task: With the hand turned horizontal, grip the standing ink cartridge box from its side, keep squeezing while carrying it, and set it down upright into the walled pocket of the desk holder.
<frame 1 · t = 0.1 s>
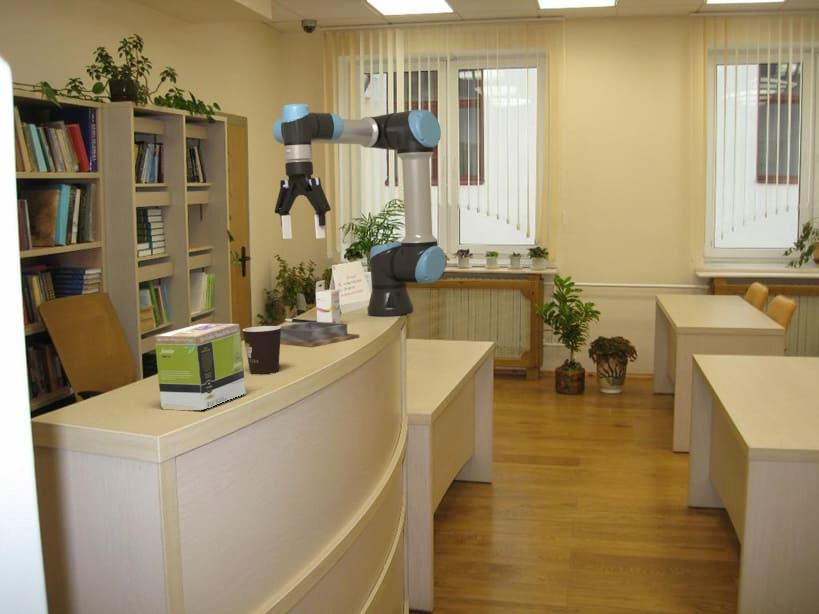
hand: (303, 238, 259), 28 cm above the table, tool pointing down, fingers open, 13 cm apart
ink cartridge box: (329, 330, 276), on the table
tea box: (204, 403, 182), on the table
cartridge holder: (310, 339, 258), on the table
coffee mug: (264, 371, 213), on the table
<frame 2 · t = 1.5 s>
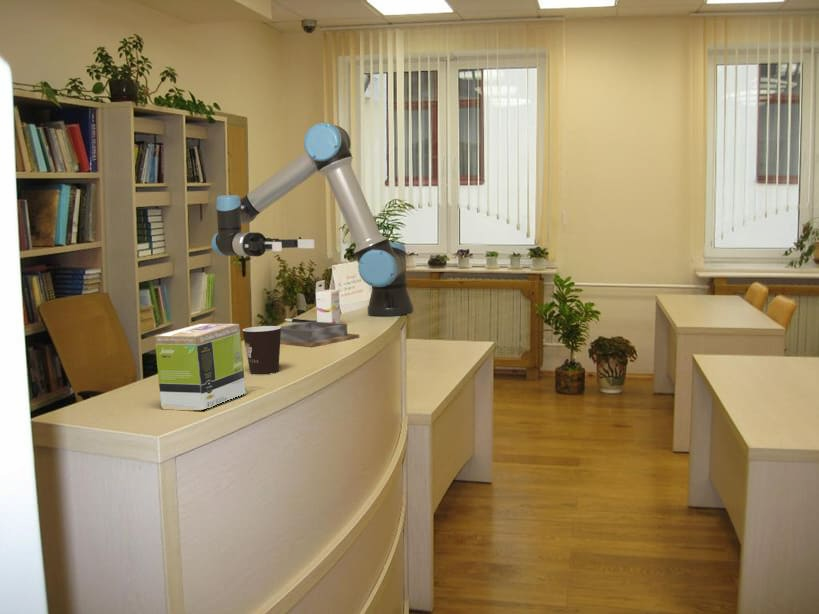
hand: (297, 245, 280), 25 cm above the table, tool horizontal, fingers open, 13 cm apart
nothing on the table moved.
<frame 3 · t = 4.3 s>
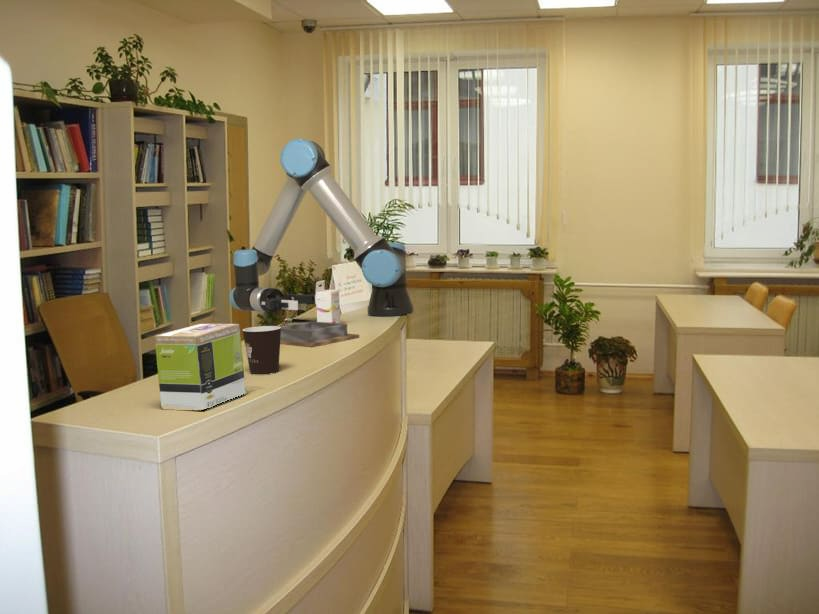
hand: (314, 302, 278), 8 cm above the table, tool horizontal, fingers open, 13 cm apart
nothing on the table moved.
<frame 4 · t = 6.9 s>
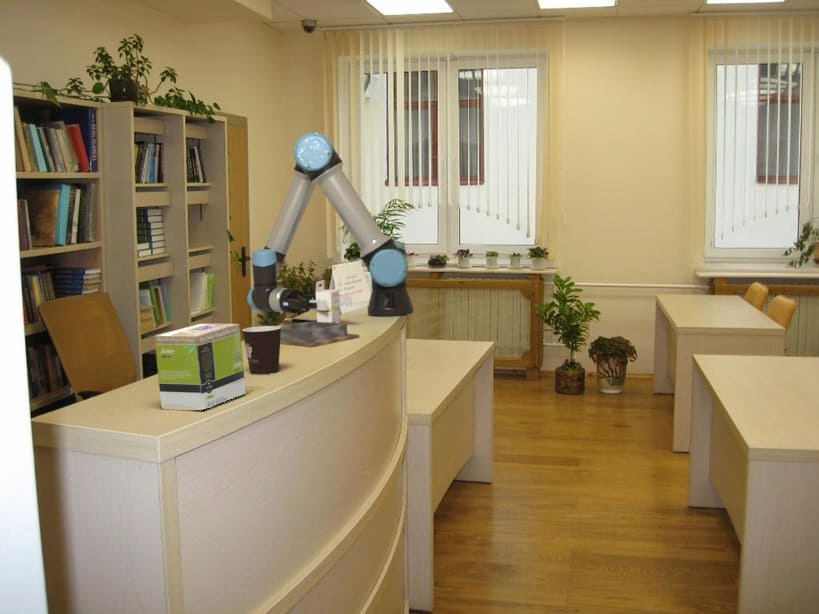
hand: (338, 303, 272), 8 cm above the table, tool horizontal, fingers closed on ink cartridge box, 9 cm apart
ink cartridge box: (329, 330, 276), on the table, touching gripper
everything else where it was.
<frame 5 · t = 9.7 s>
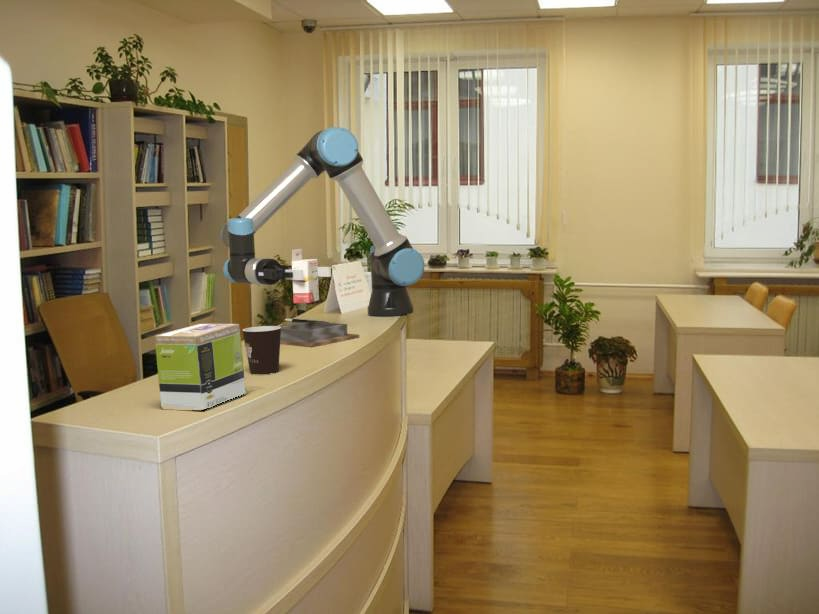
hand: (316, 273, 255), 18 cm above the table, tool horizontal, fingers closed on ink cartridge box, 9 cm apart
ink cartridge box: (306, 302, 259), point 10 cm above the table, touching gripper
everything else where it was.
when the fingers open (10 cm above the table, at t = 12.7 s): ink cartridge box drops 2 cm, resting on cartridge holder.
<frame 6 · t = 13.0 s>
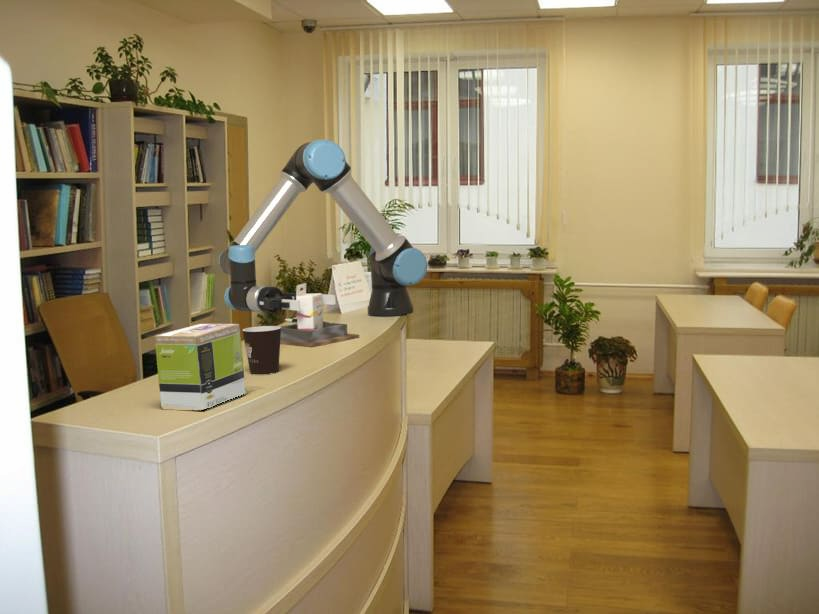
hand: (317, 302, 254), 10 cm above the table, tool horizontal, fingers open, 13 cm apart
ink cartridge box: (311, 337, 258), point 1 cm above the table, touching cartridge holder
everything else where it was.
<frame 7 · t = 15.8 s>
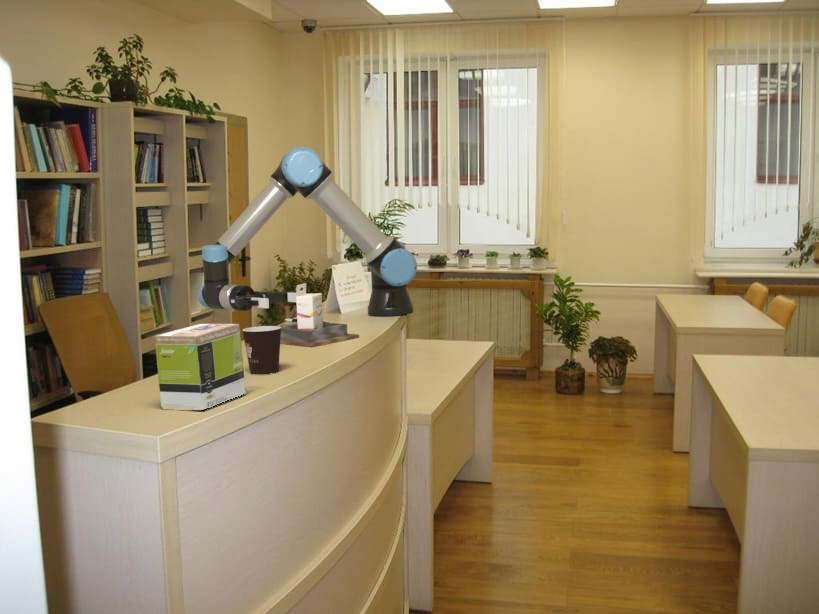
hand: (286, 300, 262), 11 cm above the table, tool horizontal, fingers open, 13 cm apart
nothing on the table moved.
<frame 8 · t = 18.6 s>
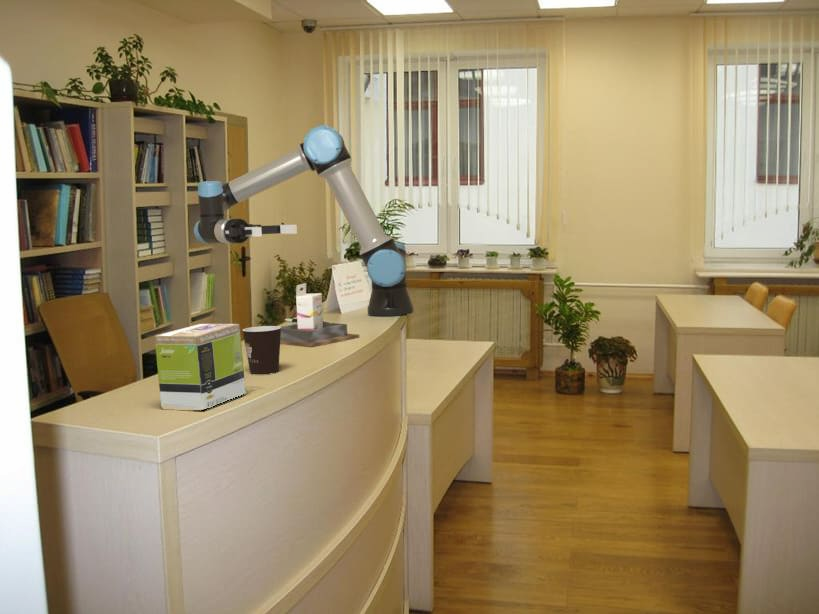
hand: (278, 230, 272), 30 cm above the table, tool horizontal, fingers open, 13 cm apart
nothing on the table moved.
at the end: ink cartridge box 0.3 cm off-centre on the cartridge holder, point 0.6 cm above the cartridge holder's base; ink cartridge box tilted 0°; the gripper is holding nothing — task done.
